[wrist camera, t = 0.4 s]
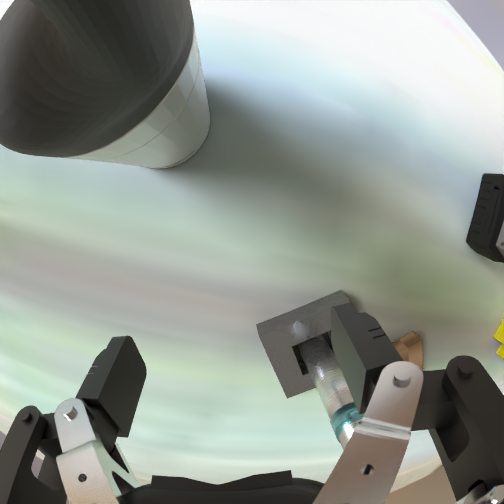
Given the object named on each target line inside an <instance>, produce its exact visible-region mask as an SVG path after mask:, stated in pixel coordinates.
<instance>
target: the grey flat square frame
mask: <svg viewBox="0 0 504 504" xmlns="http://www.w3.org/2000/svg"><path fill="white" fill-rule="evenodd" d="M345 303H350V301H349V299H348V298H347V297H346V296H345V295H344V294H343V293H342V292H341V291H337V292H335V293H333V294H331V295H328V296H326V297H324V298H321V299H319V300H317V301H314V302H312V303H309V304H307V305H305V306H302V307H300V308H297V309H295V310H292V311H290V312H287V313H285V314H282V315H280V316H277V317H275V318H272V319H270V320H267V321H264V322H262V323H259V324H256V326H257V330H258V334H259V337H260V339H261V342H262V344H263V346H264V348H265V351H266V353H267V355H268V357H269V360H270V362H271V364H272V366H273V368H274V371H275V373H276V375H277V377H278V379H279V382H280V384H281V386H282V388H283V390H284V392H285V395H286V397H287V398H290V397H292V396H295V395H298V394H300V393H303V392H306V391H308V390H311V389H313V388H316V386H315V384H314V382H313V380H312V378H311V375H310V373H309V371H308V369H307V366H306V364H305V362H304V361H303V362H300V363H298V362H297V359H296V357H295V354H294V351H293V349H292V346H294V345H296V344H299V343H301V342H304V341H306V340H309V339H311V338H314V337H316V336H318V335H321V334H323V333H325V332H328V334H329V338H330V341H331V307H332V306H336V305H341V304H345ZM331 345H332V342H331ZM332 348H333V347H332ZM331 350H332V351H333V349H331ZM333 353H334V351H333ZM334 355H335V354H334Z"/></svg>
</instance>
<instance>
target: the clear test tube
mask: <svg viewBox="0 0 504 504" xmlns="http://www.w3.org/2000/svg"><path fill="white" fill-rule="evenodd" d="M298 348H299V351H300V353H301V355H302V357H303V360H304V362H305V364H306V366H307V369H308V371H309V373H310V375H311V378H312V380H313V382H314V384H315V386H316V389H317V391H318V393H319V395H320V398H321V400H322V402H323V405H324V407H325V409H326V411H327V414H328V416H329V418H330V423H331V426H332V428H333V430H334V432H335V435H336V437H337V439H338V441H339V442H340V443H341V445H342V447H343V450H344V449H345V447H346V445H347V443H348V441H349V439H350V437H351V435H352V433H353V431H354V429H355V428H356V426H357V424H358V423H359V422H361V421H362V419H363V416H364V414H365V413H363V414H360V415H359V413H358V411H357V408H356V406H355V403H354V401H353V398H352V396H351V393H350V391H349V388H348V386H347V383H346V381H345V378H344V376H343V373H342V371H341V368H340V366H339V363H338V361H337V359H336V356H335V355H334V353H333V351H332V350H331V348H330V347H329V345H328V343H327V342H326V340H325V338H324V337H323V335H322V334H321V335H318V336H316V337H314V338H311V339H309V340H306V341H304V342H301V343H299V344H298Z"/></svg>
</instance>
